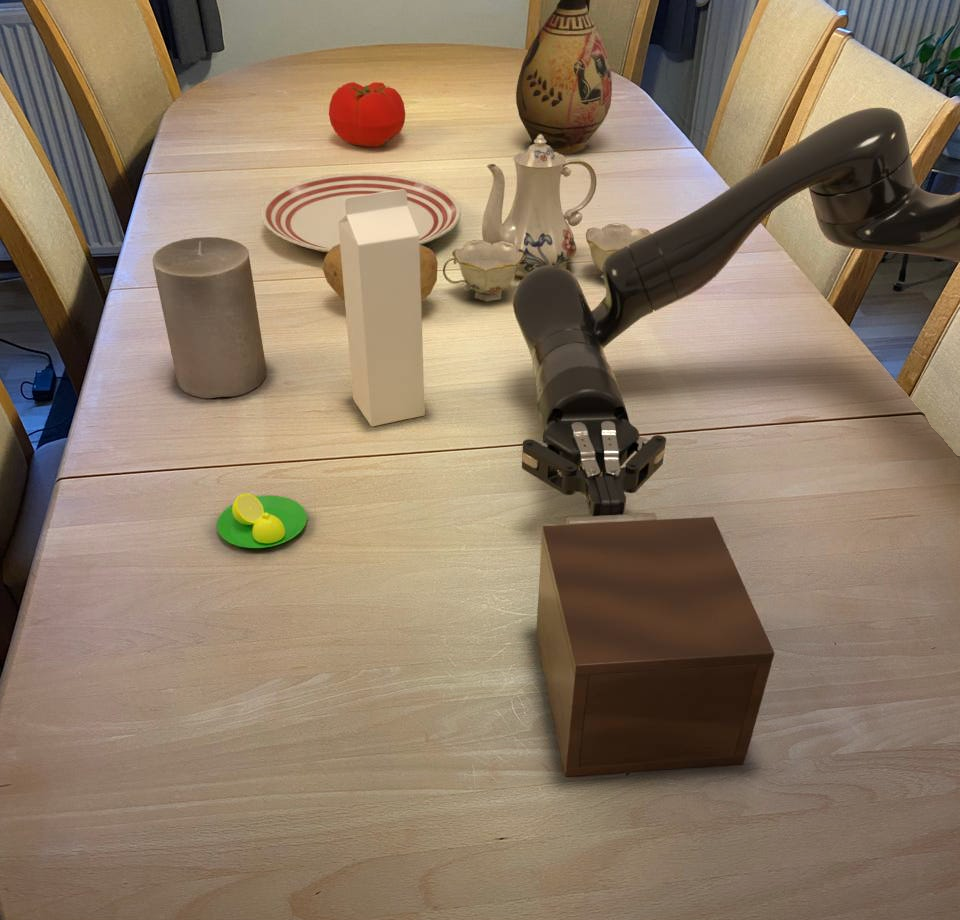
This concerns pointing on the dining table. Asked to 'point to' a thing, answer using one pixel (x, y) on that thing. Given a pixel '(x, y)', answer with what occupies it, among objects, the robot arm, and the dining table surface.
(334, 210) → the dinner plate
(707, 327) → the dining table surface
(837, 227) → the robot arm
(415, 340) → the milk
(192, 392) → the pillar candle
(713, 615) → the cabinet
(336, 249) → the potato
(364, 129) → the tomato
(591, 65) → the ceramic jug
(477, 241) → the chinaware
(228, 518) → the lemon halves on plate
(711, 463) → the dining table surface
